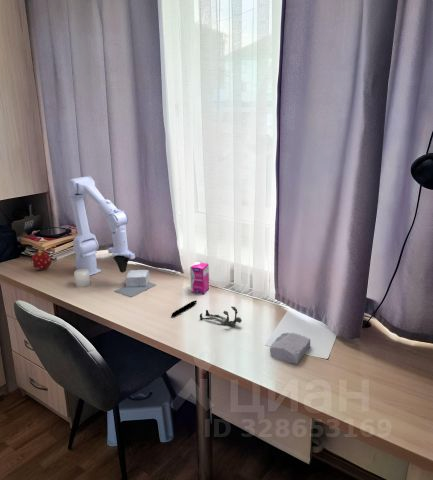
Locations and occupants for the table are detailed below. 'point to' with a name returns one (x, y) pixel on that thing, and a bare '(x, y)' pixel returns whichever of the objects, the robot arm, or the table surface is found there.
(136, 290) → the felt mat
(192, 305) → the pen
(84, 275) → the white round lump
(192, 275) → the supplement box
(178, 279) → the table surface
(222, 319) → the zombie figurine
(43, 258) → the christmas ornament
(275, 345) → the stone block
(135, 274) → the medicine box
